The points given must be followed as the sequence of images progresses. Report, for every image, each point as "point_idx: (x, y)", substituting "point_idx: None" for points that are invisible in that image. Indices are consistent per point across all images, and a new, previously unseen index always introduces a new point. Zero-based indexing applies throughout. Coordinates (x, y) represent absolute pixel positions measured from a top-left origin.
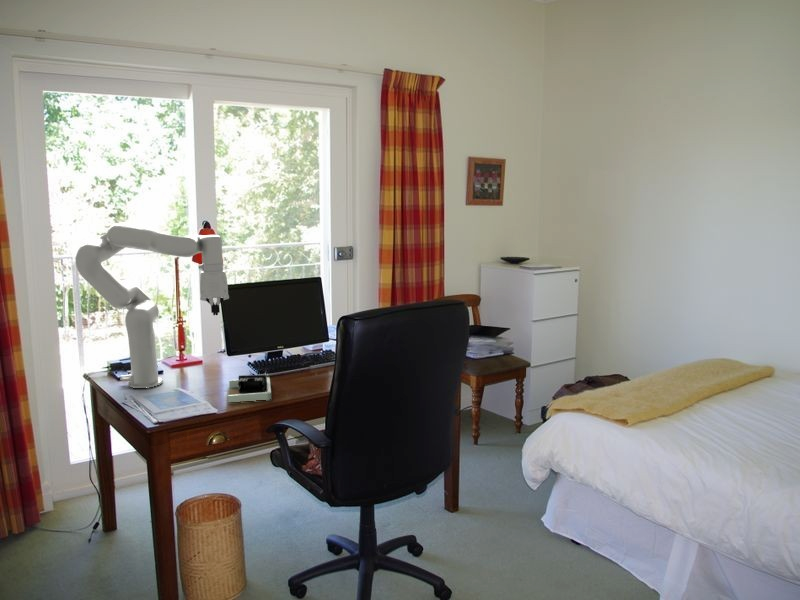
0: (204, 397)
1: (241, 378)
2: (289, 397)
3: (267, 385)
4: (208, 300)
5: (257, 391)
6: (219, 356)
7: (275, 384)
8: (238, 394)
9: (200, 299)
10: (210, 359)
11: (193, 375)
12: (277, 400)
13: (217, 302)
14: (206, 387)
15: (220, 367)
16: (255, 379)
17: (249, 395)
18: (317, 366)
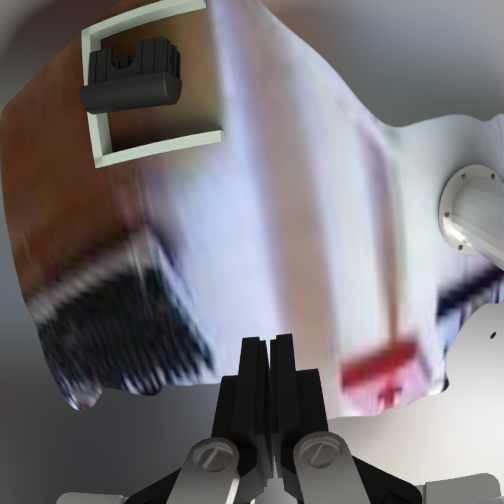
0: (291, 50)
1: (156, 63)
2: (54, 61)
3: None
4: (378, 498)
5: (122, 59)
6: None
7: (92, 161)
8: (169, 4)
9: (492, 478)
10: None
11: (361, 273)
12: (79, 36)
13: (221, 475)
14: (304, 144)
15: None
16: (109, 57)
17: (138, 9)
18: (40, 303)
